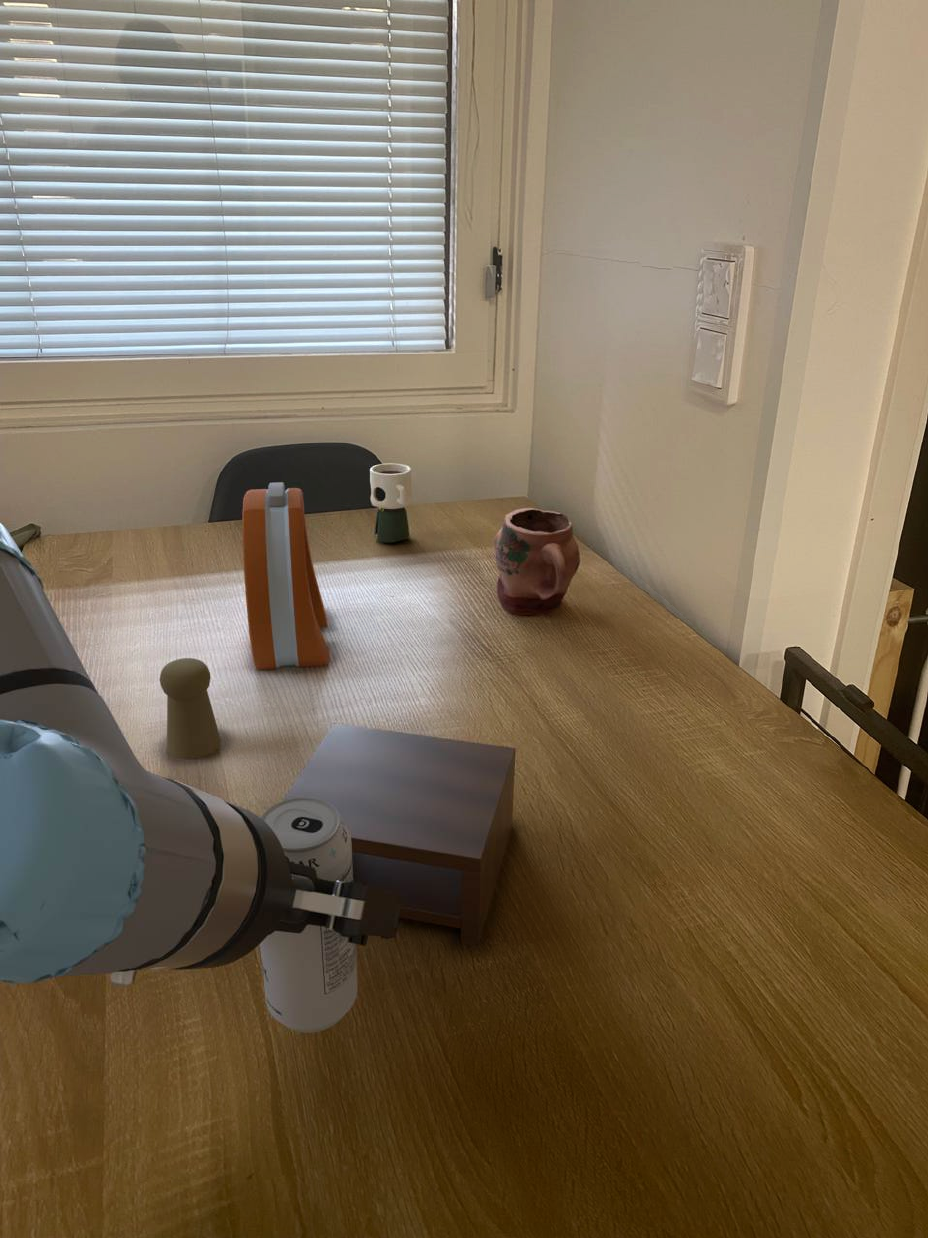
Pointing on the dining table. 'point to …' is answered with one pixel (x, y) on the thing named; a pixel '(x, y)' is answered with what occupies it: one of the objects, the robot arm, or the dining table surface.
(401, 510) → the character mug
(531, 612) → the pink ceramic mug
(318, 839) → the energy drink can
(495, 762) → the shelf
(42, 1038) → the dining table surface
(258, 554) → the alarm clock
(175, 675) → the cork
